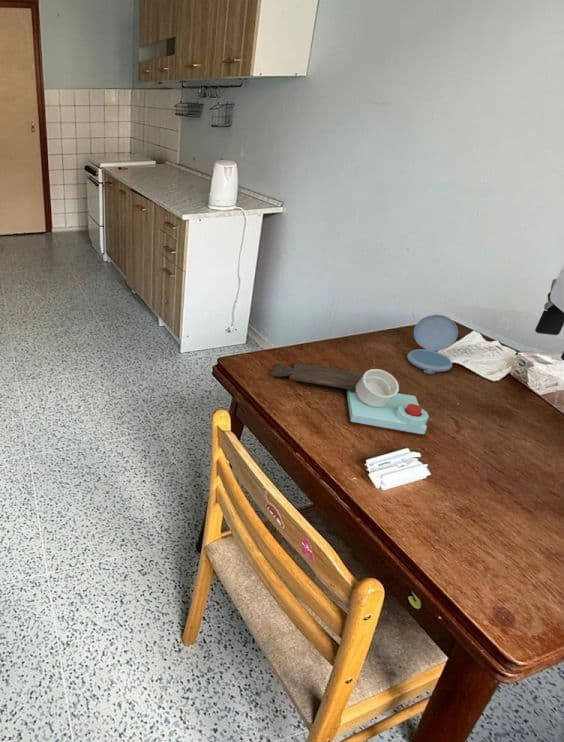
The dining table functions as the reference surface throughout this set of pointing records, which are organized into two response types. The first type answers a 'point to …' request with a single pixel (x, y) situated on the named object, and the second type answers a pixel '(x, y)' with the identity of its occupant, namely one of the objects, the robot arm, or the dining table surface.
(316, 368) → the dark wooden board
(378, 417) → the scale
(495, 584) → the dining table surface
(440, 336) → the open compact mirror
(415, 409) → the tare button
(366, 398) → the bowl
